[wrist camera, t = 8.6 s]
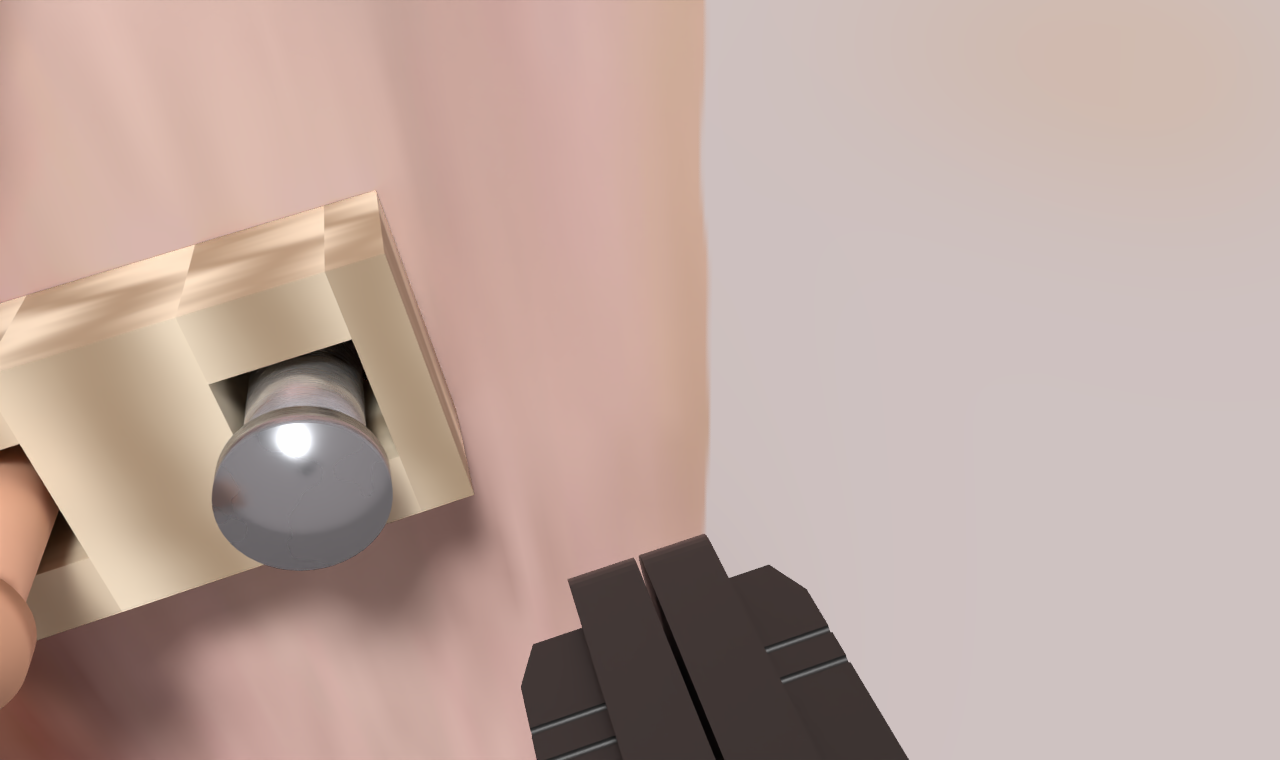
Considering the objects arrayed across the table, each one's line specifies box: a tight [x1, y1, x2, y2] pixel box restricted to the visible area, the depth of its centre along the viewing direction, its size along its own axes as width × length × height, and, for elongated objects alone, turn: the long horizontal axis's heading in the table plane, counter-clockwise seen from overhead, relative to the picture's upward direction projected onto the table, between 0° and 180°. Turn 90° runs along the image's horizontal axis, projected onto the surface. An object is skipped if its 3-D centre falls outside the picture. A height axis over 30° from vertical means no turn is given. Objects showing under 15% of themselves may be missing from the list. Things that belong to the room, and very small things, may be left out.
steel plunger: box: [212, 339, 393, 571], centre depth 36 cm, size 5×5×10 cm
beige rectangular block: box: [0, 190, 474, 640], centre depth 37 cm, size 18×9×6 cm, turn 103°
